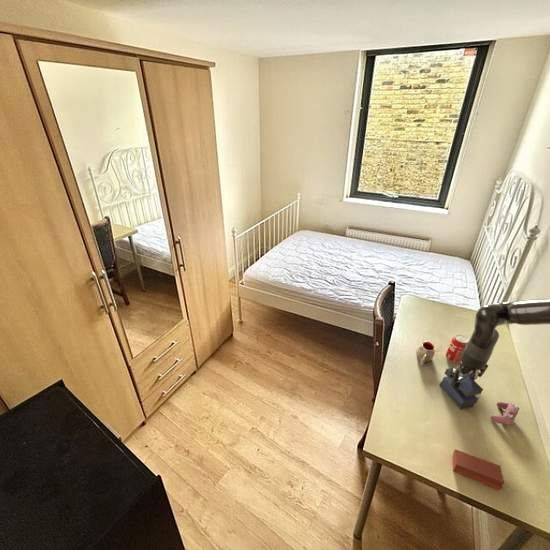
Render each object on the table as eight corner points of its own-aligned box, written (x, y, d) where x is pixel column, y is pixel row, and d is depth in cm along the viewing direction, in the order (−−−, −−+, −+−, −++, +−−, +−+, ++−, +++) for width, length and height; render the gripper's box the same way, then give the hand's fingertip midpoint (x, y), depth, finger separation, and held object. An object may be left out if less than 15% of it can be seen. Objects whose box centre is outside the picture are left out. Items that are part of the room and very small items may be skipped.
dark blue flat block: (480, 393, 105) (483, 389, 104) (466, 396, 104) (469, 392, 103) (457, 370, 114) (459, 366, 113) (444, 373, 113) (446, 368, 112)
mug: (418, 349, 134) (422, 338, 131) (434, 355, 131) (438, 344, 128) (410, 364, 126) (414, 352, 123) (427, 372, 123) (431, 360, 119)
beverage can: (449, 352, 133) (457, 331, 127) (463, 360, 129) (473, 339, 123) (442, 357, 130) (450, 337, 124) (456, 366, 125) (466, 345, 120)
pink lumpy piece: (499, 429, 102) (517, 425, 97) (488, 418, 104) (505, 412, 99) (506, 412, 108) (524, 407, 103) (496, 402, 110) (512, 396, 105)
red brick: (496, 473, 88) (502, 466, 86) (499, 492, 84) (505, 485, 82) (450, 454, 93) (454, 447, 91) (451, 471, 89) (455, 464, 87)
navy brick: (475, 407, 108) (480, 398, 106) (460, 410, 107) (464, 402, 104) (452, 382, 118) (456, 374, 115) (438, 385, 116) (441, 377, 114)
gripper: (468, 363, 97) (452, 397, 105) (503, 357, 100) (484, 390, 108) (451, 348, 103) (437, 380, 111) (484, 342, 106) (468, 374, 114)
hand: (461, 385), depth 110 cm, fingers closed on dark blue flat block, 6 cm apart
